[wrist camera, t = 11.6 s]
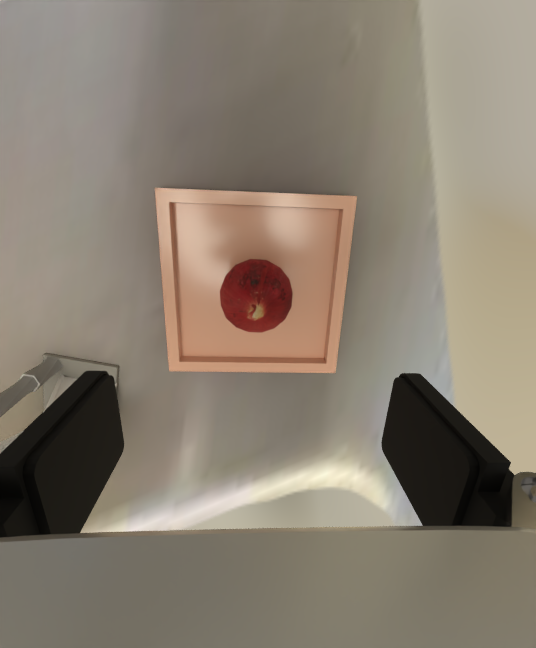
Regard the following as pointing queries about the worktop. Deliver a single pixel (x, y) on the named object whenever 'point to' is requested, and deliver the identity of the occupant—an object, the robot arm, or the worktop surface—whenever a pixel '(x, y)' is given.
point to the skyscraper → (50, 382)
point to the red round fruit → (256, 295)
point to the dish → (243, 244)
